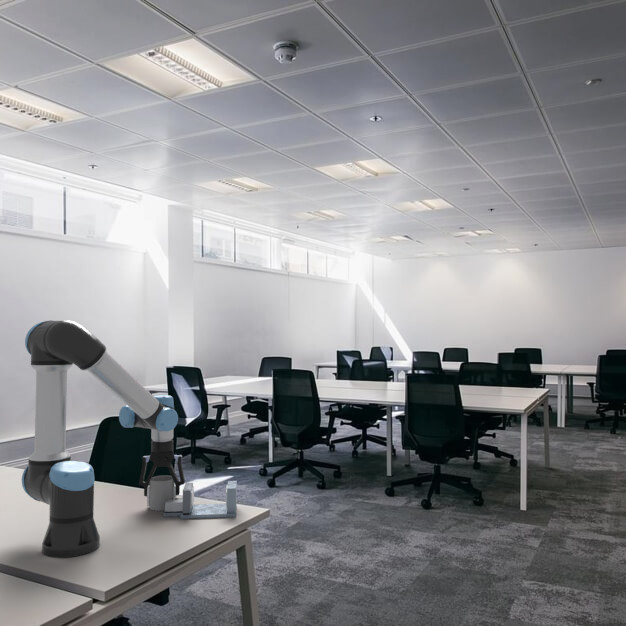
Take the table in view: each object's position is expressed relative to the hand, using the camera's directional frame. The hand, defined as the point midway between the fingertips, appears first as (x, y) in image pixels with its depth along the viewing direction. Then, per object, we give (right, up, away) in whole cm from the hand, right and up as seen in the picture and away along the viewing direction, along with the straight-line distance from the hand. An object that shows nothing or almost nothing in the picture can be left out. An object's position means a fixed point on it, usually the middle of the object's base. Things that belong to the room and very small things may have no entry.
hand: (161, 504), depth 206 cm
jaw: (+8, +1, -7) cm, 11 cm away
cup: (0, -1, 0) cm, 1 cm away
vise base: (+15, -1, -6) cm, 16 cm away
